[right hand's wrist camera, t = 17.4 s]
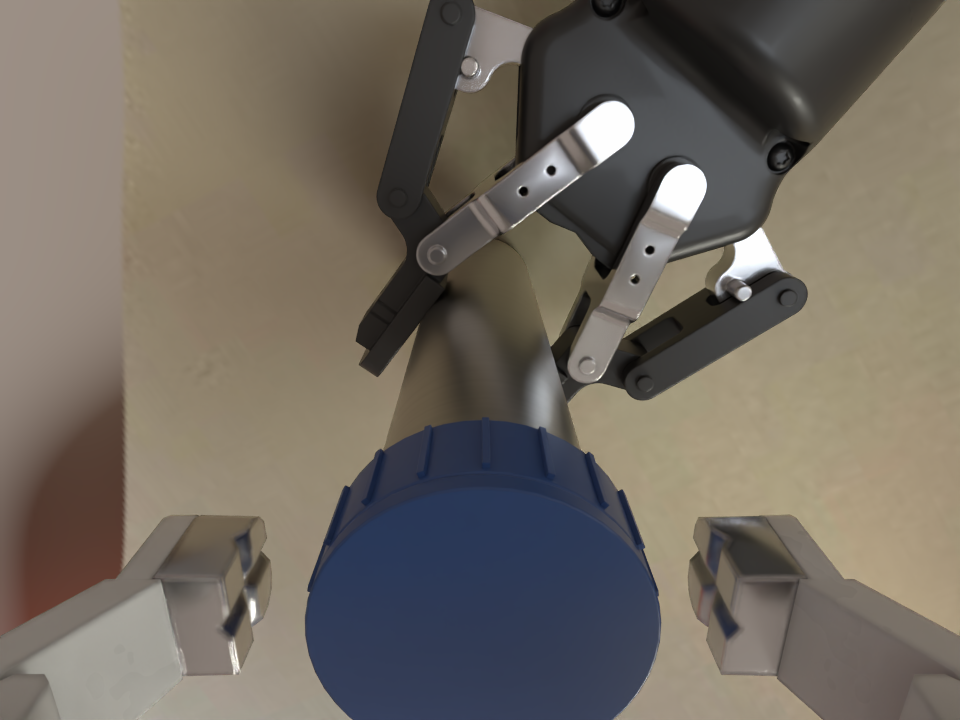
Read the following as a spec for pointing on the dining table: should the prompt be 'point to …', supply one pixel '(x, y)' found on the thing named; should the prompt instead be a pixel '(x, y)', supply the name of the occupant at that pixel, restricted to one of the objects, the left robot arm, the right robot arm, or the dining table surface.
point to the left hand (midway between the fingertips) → (432, 400)
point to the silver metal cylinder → (483, 354)
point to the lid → (482, 583)
